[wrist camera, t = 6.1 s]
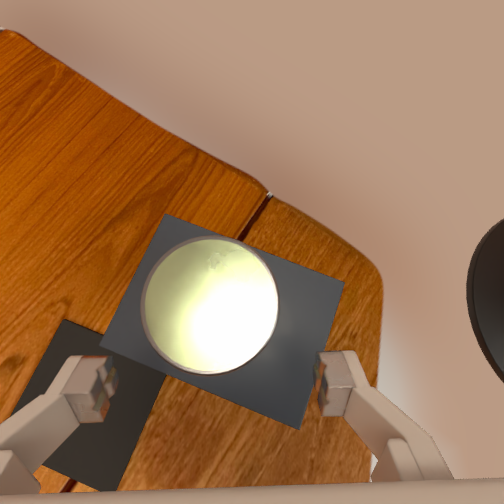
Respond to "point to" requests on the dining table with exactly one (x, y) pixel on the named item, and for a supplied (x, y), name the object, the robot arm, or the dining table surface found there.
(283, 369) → the shelf
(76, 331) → the mat
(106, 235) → the dining table surface
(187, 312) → the tin
